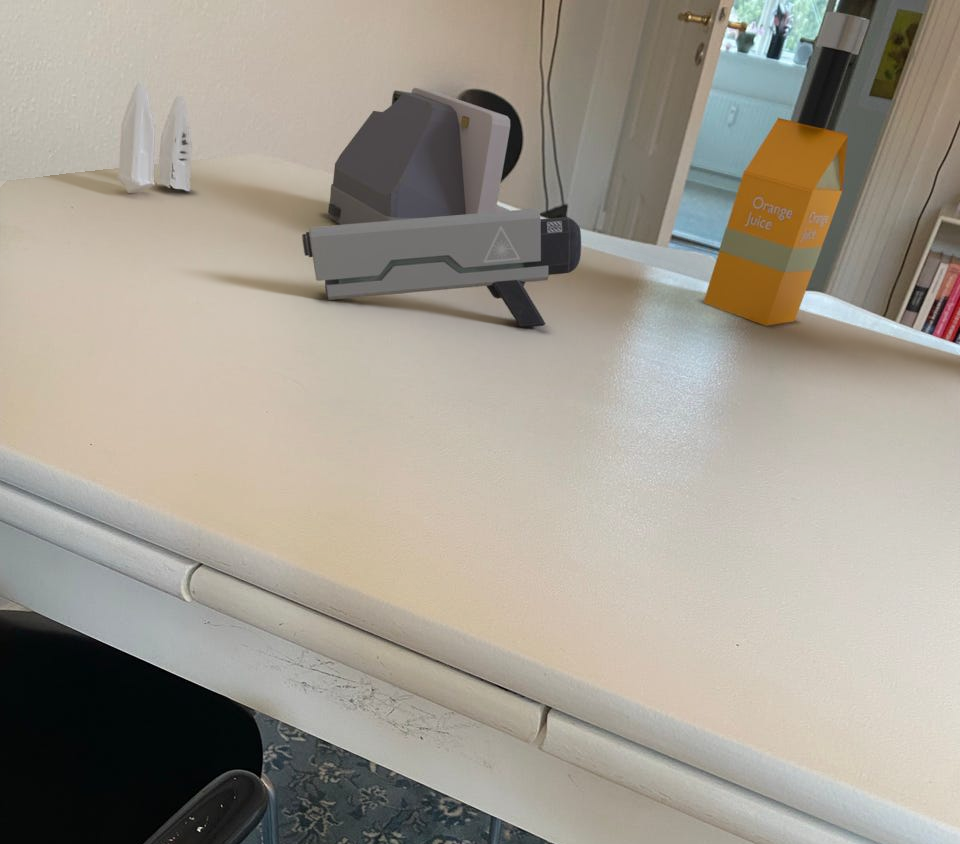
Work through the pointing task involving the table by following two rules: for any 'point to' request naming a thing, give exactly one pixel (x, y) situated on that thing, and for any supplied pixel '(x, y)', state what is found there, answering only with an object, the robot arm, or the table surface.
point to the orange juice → (779, 223)
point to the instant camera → (421, 161)
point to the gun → (446, 256)
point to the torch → (831, 65)
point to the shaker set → (141, 145)
